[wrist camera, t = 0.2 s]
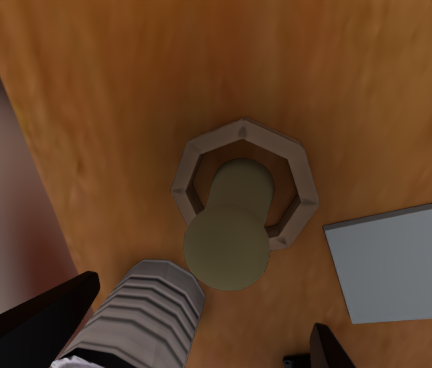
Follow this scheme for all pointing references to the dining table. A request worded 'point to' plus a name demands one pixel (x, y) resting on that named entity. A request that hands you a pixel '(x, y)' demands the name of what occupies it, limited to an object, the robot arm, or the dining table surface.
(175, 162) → the dining table surface
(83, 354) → the can
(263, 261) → the cork
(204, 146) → the walnut holder
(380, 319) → the slate mat
